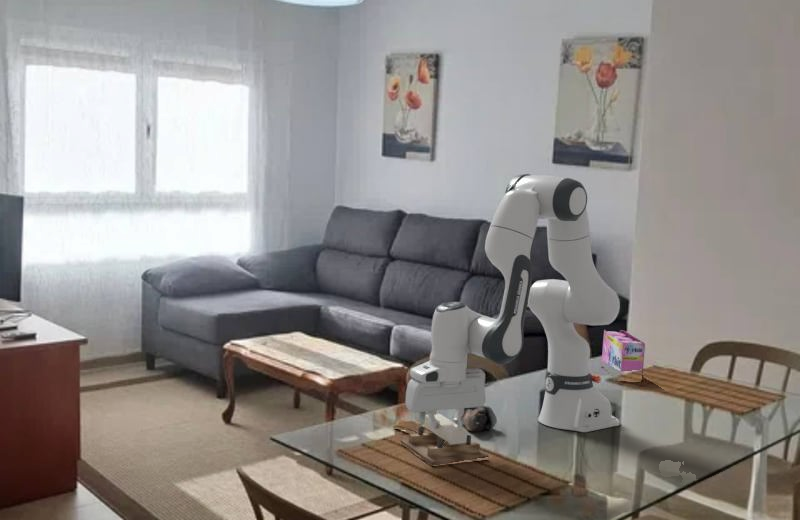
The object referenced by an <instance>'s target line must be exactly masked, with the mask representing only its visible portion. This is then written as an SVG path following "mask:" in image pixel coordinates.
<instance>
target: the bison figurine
mask: <svg viewBox="0 0 800 520" xmlns="http://www.w3.org/2000/svg"><path fill="white" fill-rule="evenodd" d="M459 421H460V422H461V423H462V424H463V425H464V426H465V429H466V430H467V431H469V430H471V431H470V432H474V431H476V432H480V431H482V430H486V429H489V430H488V431H492V430H493V429H494V427H495V426H496V424H497V423H498V419H497V416H496V413H494V411H493V409H492V407H490V406H487V405H483V406H482V407H472V408H464V414H463V415H462V417H461V419H459Z"/></svg>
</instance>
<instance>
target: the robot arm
mask: <svg viewBox="0 0 800 520" xmlns="http://www.w3.org/2000/svg"><path fill="white" fill-rule="evenodd" d="M587 204H588V193H587V191H586V189H585V187H584V185H583V184H582V182H580V181H578V180H575V179H573V178H570V177H566V178H565V177H561V176H556V175H552V174H545V175H543V174H532V175H531V174H530V173H526V174H519V175H516V176H514V177H513V178H511V180H510V181H509V183H508V184H507V187H506V190H505V193H504V195H503V196H502V198H501V201H499V204H498V206H497V208H496V211H495V212H494V215H493V217H492V220H491V223H490V225H489V229H488V232H487V234H486V237H485V241H484V242H485V243H484V251H485V255H486V257H487V258H488V260H489V261H490V263H491V264H492V265H493V266H494V267H495V268H496V269H498V270H499V272H501V275H502V276H503V278H504V282H505V283H504V284H505V285H504V292H503V297H502V302H501V307H500V313H499V315H498V317H497V318H493V317H490V316H488V315H483V314H481V313H478V312H476V311H474V310H472V309H471V308H470V307H468V305H467V304H466V303H464V302H461V301H448V302H447V301H446V302H443V303H441V304H439V305H438V306H436V308H435V310H434V313H433V315H432V320H431V329H430V342H431V351H430V354H429V360H428V361H425V362H424V363H421V364H419V365H417V366H416V365H415V366H414V367H412V368H410V371H409V376H410V377H412V378H411V379H410V380H409V381H408V383H407V386H406V387H407V388H406V391H405V402H404V403H405V407H406V409H407V410H409V412H412V413H415V414H416V413H426V415H428V416H429V418H430V420H431V428H433V429H435V428H439V424H440V421H438V420H436V419H435V417H434V415H436V414H437V411H447V410H454V411H456V412H455V413H454V416H453V417H451V418H450V420H451V421H452V422H454V423H456V424H457V425H459V426H460V419H461V417H462V415H463V414H464V408H472V407H482V406H485V403H486V386H485V385H486V384H485V383H486V373H485V371H483V370H482V369H480V368H467V366H468V364H467V363H468V362H467V361H468V354H474V355H475V356H479V357H481V358H484V359H487V360H490V361H491V362H493V363H495V364H498V365H507V364H510V363H512V361H514V360H515V359H516V358H517V357H518V356H519V355H520V353H521V351H522V349H523V346H524V327H525V326H524V325H525V318H526V314H527V308H528V307H529V309H530V311H531V313H533V314H534V315H535V316H536V318H537V319H538V320H539V321H540V323H541V326H542V327H543V329H544V333H545V335H546V339H547V351H548V352H547V369H546V370H545V376H544V378H545V379H544V388H545V392H544V398H543V403H542V406H541V407H542V408H541V410H540V413H539V417H538V419H537V420H538V422H539V423H541V424H543V425H544V426H548V427H550V428H553V429H554V428H555V429H559V430H560V429H561V430H567V431H568V430H569V431H576V432H579V433H588V432H592V431H598V430H603V429H607V428H612V427H618V426H620V424H621V423H620V420H619V419H618V418H617V417H615V416H614V415H612V405H611V402H610V400H609V399H608V398H607V397H606V396H604V395H603V394H602V392H600V391H599V390H598V389H596V388H595V386H594V383H596V384H599V383H600V382H601V380H602V378H601V376H600V375H597V374H591V373H590V372H589V371H590V359H591V358H590V356H591V348H590V344H589V342H588V341H587V340H586V339H585V338H584V337H582V336H581V335H580V334H579V333H578V331H577V330H576V328H575V325H574V323H575V324H580V325H587V326H607V325H610V324H612V323H613V322H614V321H615V320H616V318H617V317H618V315H619V313H620V309H621V306H620V305H621V304H620V303H621V302H620V298H619V295H618V294H617V292H616V291H615V290H614V289H613V288H611V287H610V286H609V285H608V284H607V283H606V282H605V281H604V280H603V279H602V277H601V275H600V274H599V272H598V270H597V268H596V266H595V263H594V261H593V260H594V258H593V254H592V247H591V246H592V245H591V233H590V231H591V230H590V223H589V221H590V220H589V216H588V210H587ZM544 219H546V235H547V236H546V238H547V239H546V240H547V251H548V261H549V264H550V265H551V267H552V269H554V270H555V271H557V272H558V273H560V274H561V276H562V277H564V279H565V280H562V279H555V278H552V279H550V278H549V279H540V280H536V281H535V282H534V283H532V281H533V276H534V275H533V274H534V272H533V270H534V266H533V263H532V260H531V248H532V245H533V241H534V238H535V234H536V232H537V226H538V221H539V220H544Z"/></svg>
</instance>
